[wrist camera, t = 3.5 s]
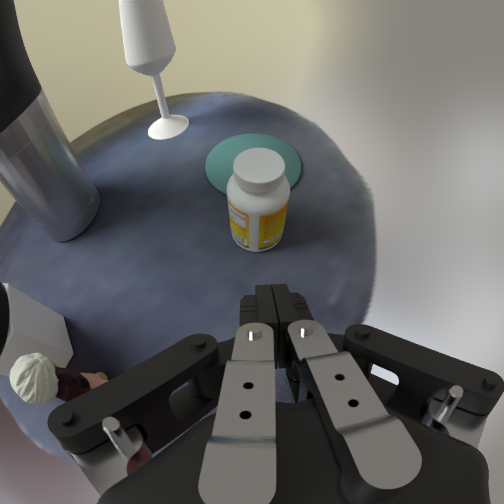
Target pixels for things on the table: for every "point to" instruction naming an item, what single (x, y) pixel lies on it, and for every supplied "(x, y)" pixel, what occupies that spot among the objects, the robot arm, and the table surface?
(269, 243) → the supplement bottle
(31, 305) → the jar
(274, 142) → the mat
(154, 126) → the champagne flute
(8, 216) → the table surface
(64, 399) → the grandmother figurine
